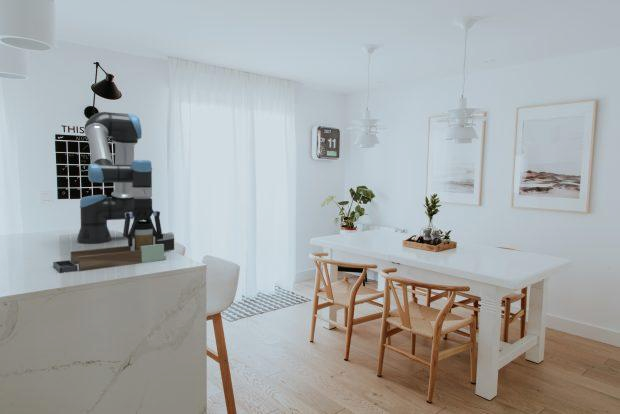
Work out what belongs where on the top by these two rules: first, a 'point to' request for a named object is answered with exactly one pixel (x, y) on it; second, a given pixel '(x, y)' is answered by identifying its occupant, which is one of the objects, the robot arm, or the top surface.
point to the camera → (166, 241)
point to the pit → (65, 266)
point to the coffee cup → (143, 234)
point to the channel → (106, 257)
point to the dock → (152, 253)
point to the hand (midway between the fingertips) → (143, 252)
